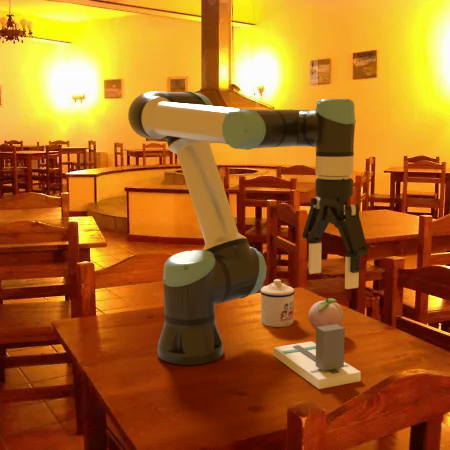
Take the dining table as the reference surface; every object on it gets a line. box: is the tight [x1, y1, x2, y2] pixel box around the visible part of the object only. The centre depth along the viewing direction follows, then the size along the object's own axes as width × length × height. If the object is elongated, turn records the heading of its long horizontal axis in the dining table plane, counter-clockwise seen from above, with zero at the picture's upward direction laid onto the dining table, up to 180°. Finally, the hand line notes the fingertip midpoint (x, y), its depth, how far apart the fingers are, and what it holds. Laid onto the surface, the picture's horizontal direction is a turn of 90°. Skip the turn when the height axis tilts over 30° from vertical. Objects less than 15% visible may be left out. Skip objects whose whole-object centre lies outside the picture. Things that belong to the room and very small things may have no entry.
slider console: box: [273, 341, 362, 390], centre depth 140 cm, size 10×20×2 cm, turn 23°
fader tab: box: [315, 324, 346, 371], centre depth 134 cm, size 5×3×8 cm, turn 113°
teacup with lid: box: [259, 278, 295, 328], centre depth 172 cm, size 12×9×12 cm
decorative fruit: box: [308, 296, 345, 331], centre depth 160 cm, size 9×8×10 cm
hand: (332, 280), depth 132 cm, fingers open, 13 cm apart
